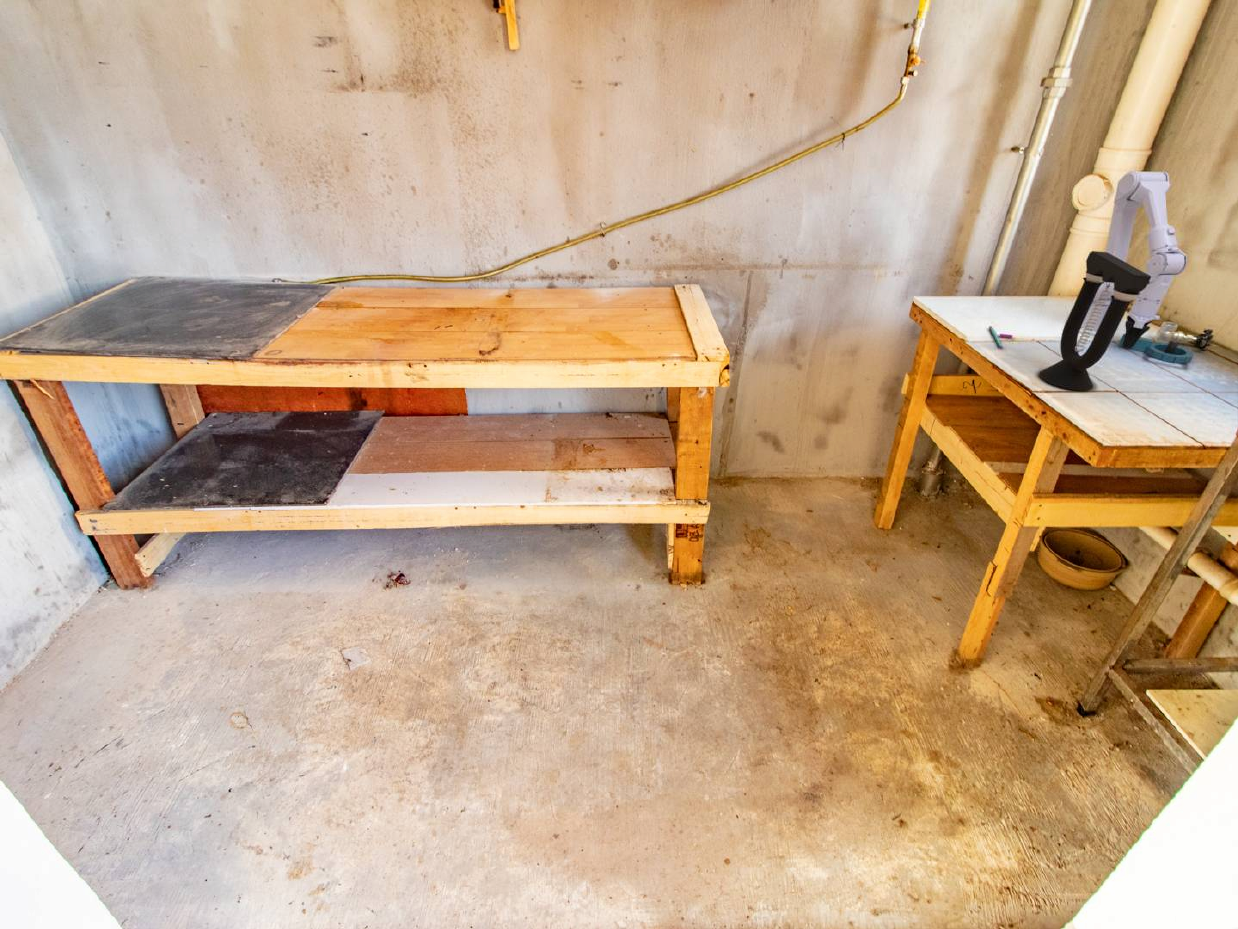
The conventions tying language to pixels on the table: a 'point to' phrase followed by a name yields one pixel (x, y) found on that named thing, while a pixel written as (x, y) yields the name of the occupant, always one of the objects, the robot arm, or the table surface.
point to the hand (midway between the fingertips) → (1127, 344)
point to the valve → (1182, 336)
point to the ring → (1160, 350)
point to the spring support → (1126, 289)
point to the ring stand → (1171, 349)
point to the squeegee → (997, 337)
